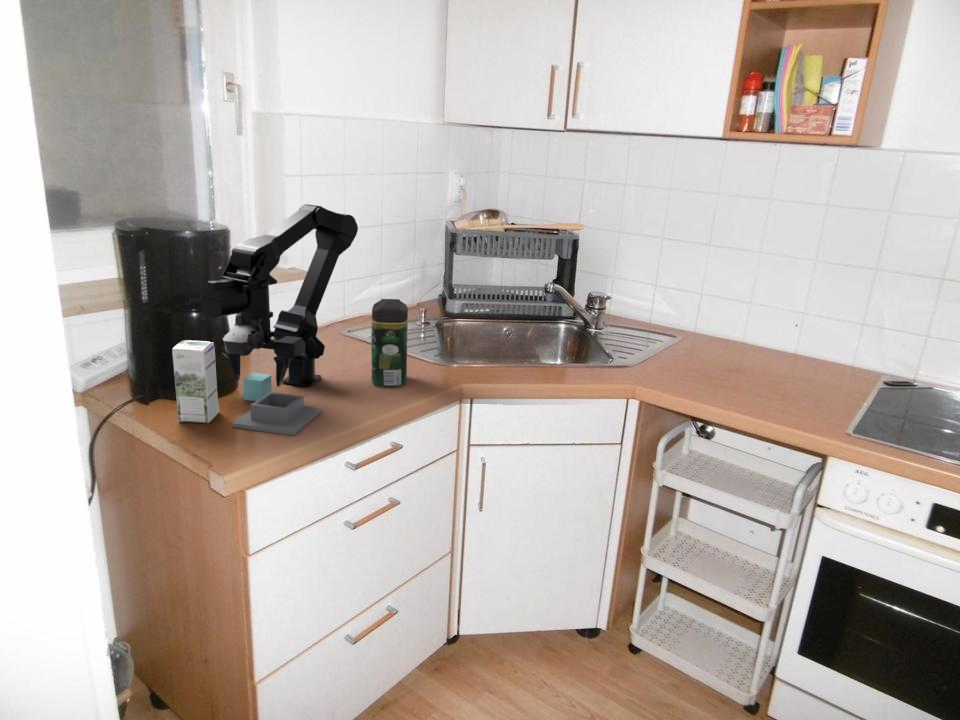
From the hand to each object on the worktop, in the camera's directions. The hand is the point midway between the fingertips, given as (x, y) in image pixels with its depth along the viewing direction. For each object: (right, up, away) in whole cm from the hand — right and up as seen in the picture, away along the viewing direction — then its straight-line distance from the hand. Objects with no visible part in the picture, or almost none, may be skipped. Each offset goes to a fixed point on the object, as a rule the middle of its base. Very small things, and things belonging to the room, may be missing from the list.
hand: (258, 383), depth 137 cm
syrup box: (-8, -6, -11) cm, 14 cm away
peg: (0, -3, +1) cm, 3 cm away
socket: (+7, -7, -9) cm, 13 cm away
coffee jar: (+25, 0, +14) cm, 28 cm away
